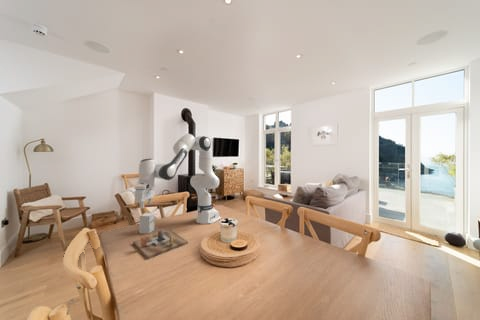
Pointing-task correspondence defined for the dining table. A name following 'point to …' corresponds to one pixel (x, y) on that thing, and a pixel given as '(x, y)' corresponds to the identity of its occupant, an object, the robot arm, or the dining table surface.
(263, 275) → the dining table surface
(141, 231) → the supplement box
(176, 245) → the walnut board
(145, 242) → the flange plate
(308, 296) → the dining table surface
